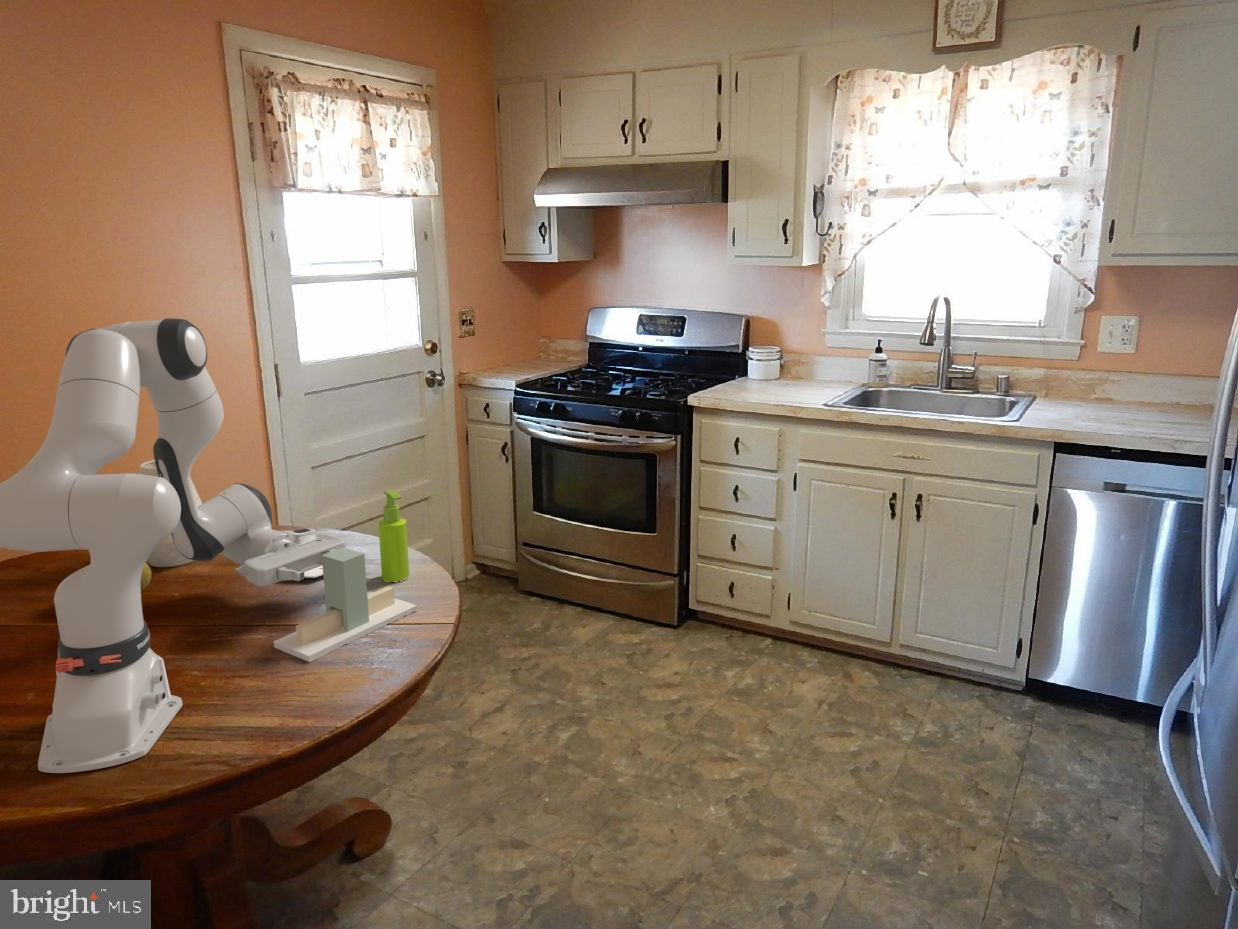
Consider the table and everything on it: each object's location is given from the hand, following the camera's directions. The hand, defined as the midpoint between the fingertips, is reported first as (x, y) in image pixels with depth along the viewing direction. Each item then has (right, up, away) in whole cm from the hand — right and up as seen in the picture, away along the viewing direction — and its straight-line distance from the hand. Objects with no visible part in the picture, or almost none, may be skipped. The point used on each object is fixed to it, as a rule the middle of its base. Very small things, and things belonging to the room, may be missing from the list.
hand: (321, 568), depth 166 cm
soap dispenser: (+8, -5, +23) cm, 25 cm away
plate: (-14, -4, +30) cm, 33 cm away
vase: (-46, -2, +33) cm, 57 cm away
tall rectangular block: (+6, -10, -1) cm, 12 cm away
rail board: (+6, -11, -1) cm, 13 cm away
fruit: (-45, -8, +10) cm, 47 cm away
